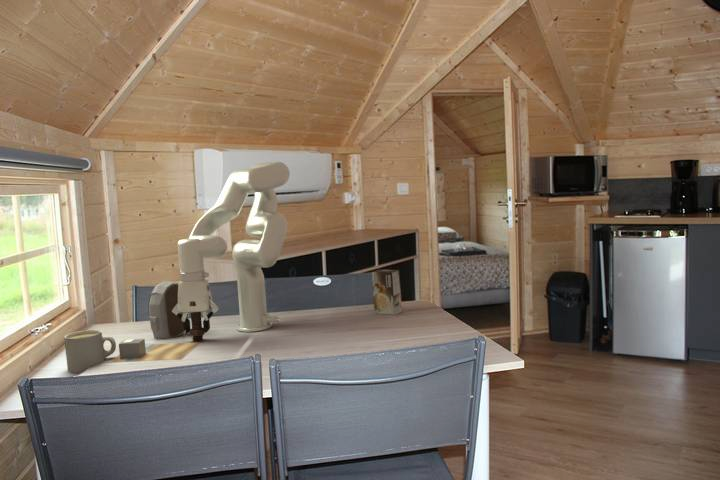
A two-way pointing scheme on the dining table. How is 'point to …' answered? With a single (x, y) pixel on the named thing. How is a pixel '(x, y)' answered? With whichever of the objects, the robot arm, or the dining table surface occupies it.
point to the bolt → (196, 325)
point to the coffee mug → (86, 349)
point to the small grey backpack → (164, 311)
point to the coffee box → (387, 292)
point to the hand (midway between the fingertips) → (197, 331)
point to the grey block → (132, 348)
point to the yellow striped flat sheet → (162, 352)
